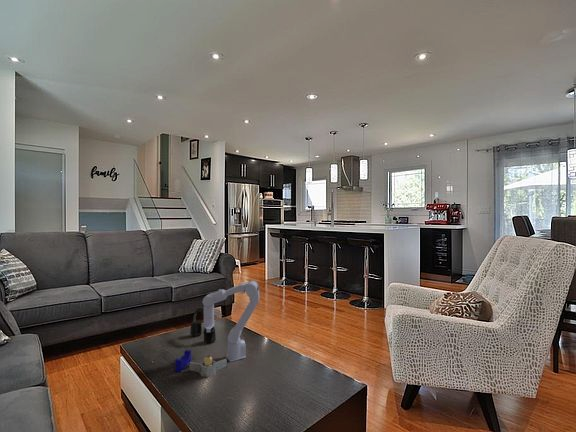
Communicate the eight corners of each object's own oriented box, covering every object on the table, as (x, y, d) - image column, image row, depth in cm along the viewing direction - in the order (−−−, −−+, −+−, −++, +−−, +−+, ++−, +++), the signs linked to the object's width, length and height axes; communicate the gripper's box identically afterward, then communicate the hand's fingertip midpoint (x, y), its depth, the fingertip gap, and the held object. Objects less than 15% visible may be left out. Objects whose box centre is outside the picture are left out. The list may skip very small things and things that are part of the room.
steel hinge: (222, 361, 168) (222, 352, 168) (230, 370, 158) (230, 361, 158) (189, 369, 159) (189, 360, 159) (196, 380, 149) (196, 370, 149)
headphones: (189, 335, 205) (189, 305, 205) (197, 333, 209) (197, 303, 209) (208, 345, 190) (208, 312, 190) (216, 342, 194) (216, 310, 194)
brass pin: (211, 370, 158) (211, 354, 158) (213, 373, 155) (213, 358, 155) (203, 372, 157) (203, 356, 157) (205, 375, 153) (205, 359, 153)
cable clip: (183, 360, 169) (183, 349, 169) (190, 361, 169) (190, 350, 169) (172, 371, 158) (172, 360, 158) (181, 372, 157) (181, 360, 157)
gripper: (202, 312, 179) (202, 336, 179) (200, 321, 165) (200, 346, 165) (214, 312, 181) (214, 335, 181) (214, 320, 167) (214, 345, 167)
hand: (208, 340), depth 173 cm, fingers open, 7 cm apart
